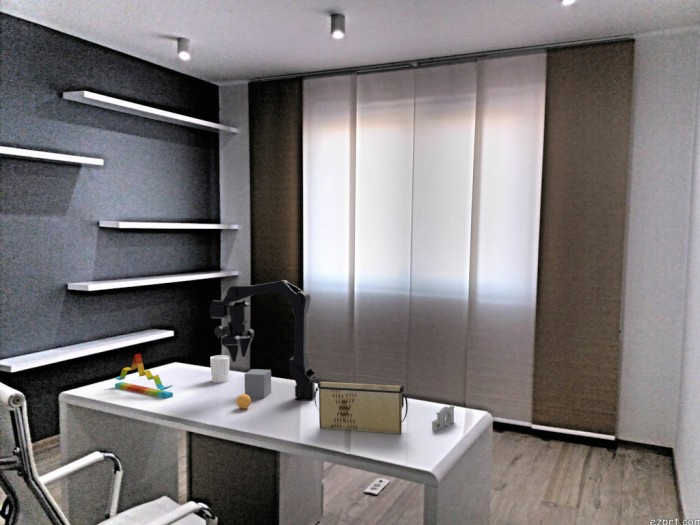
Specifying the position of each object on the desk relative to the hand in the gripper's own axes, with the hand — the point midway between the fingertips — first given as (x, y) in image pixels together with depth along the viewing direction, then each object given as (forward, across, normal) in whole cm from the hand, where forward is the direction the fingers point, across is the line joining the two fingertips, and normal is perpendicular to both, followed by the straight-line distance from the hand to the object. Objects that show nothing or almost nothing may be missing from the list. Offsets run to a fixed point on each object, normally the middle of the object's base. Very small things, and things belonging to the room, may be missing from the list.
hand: (239, 359), depth 217 cm
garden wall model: (+15, +22, +77) cm, 82 cm away
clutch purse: (+15, +29, +52) cm, 61 cm away
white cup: (+14, -18, -16) cm, 28 cm away
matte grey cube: (+14, -1, +7) cm, 15 cm away
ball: (+11, +16, +8) cm, 21 cm away
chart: (+14, +3, -39) cm, 41 cm away
